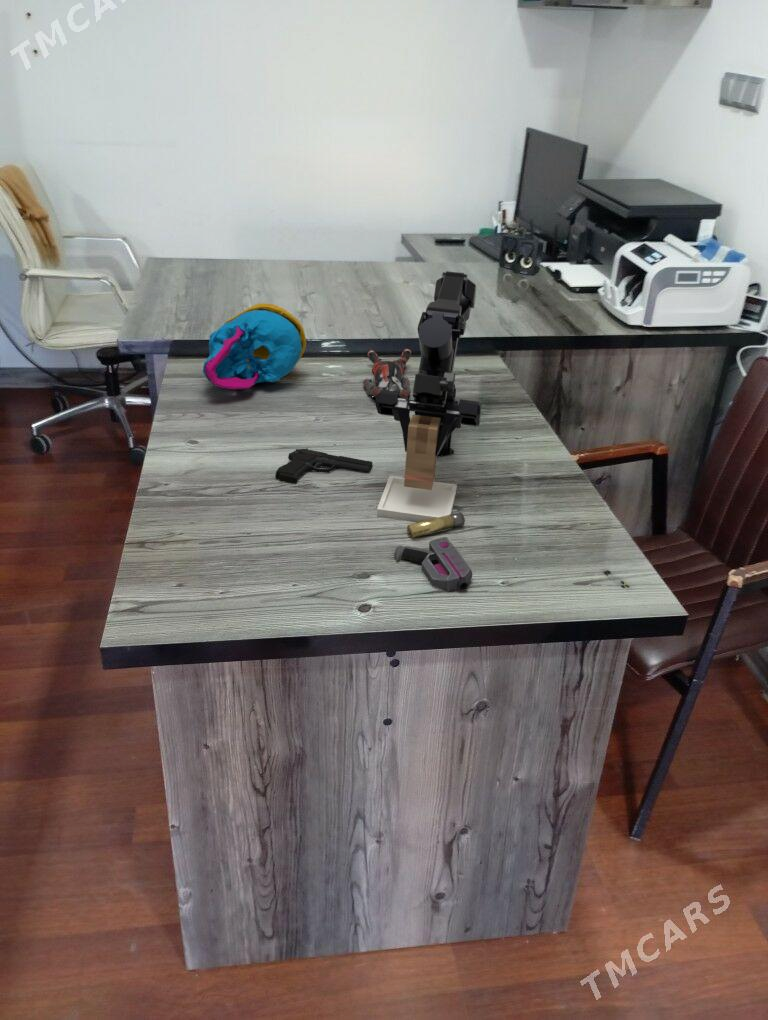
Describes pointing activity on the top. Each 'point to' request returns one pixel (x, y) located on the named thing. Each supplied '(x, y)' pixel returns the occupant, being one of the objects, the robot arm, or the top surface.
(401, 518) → the tray
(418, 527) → the bullet cartridge
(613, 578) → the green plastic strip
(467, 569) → the toy gun
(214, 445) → the top surface
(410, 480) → the brown tall hollow block
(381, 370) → the action figure
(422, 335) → the robot arm
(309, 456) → the handgun
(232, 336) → the anatomical model
